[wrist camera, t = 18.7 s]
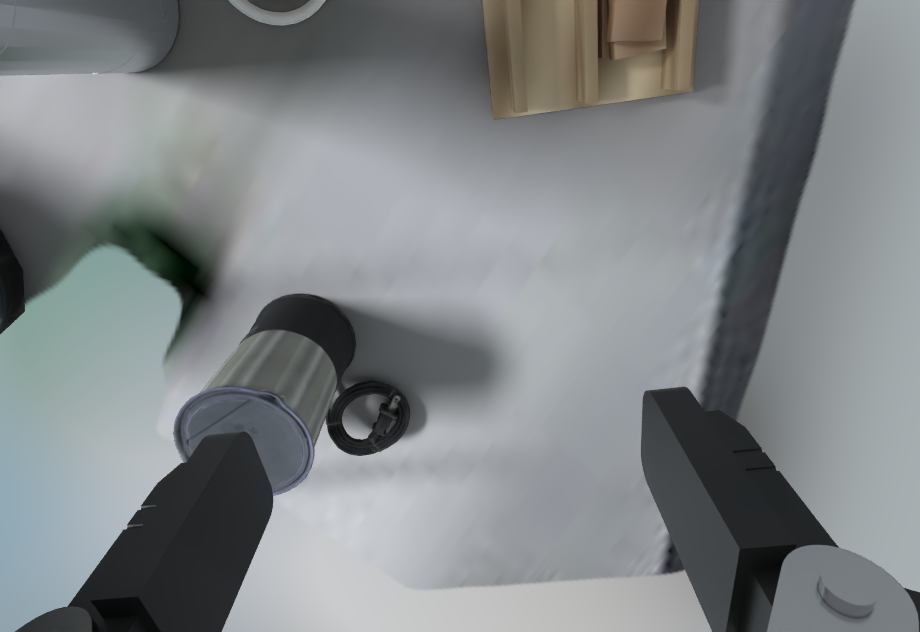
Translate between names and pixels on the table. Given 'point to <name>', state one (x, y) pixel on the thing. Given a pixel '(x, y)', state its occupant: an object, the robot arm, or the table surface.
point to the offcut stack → (630, 27)
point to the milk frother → (289, 392)
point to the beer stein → (10, 286)
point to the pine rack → (577, 57)
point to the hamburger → (277, 17)
